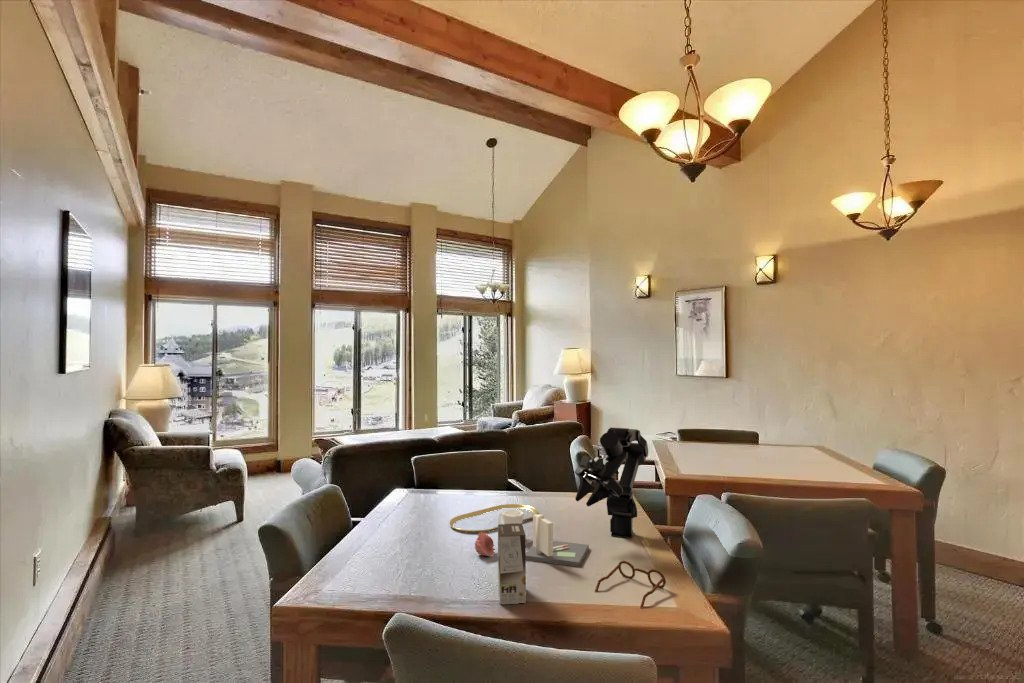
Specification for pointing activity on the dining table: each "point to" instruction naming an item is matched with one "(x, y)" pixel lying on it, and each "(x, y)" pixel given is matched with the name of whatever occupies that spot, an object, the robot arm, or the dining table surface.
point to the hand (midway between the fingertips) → (581, 502)
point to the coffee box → (511, 563)
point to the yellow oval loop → (489, 511)
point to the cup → (511, 517)
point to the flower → (484, 545)
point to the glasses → (633, 576)
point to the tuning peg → (543, 535)
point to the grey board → (561, 554)
